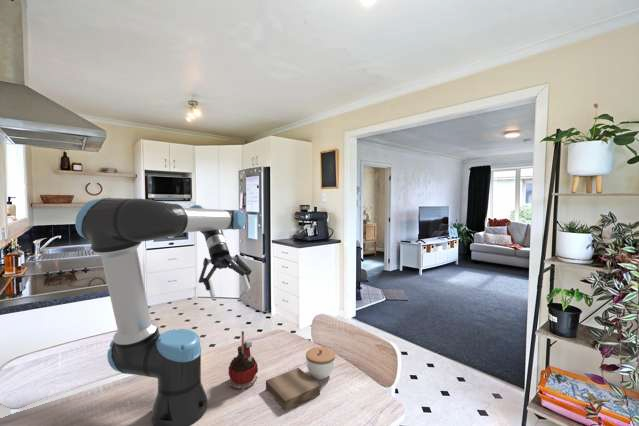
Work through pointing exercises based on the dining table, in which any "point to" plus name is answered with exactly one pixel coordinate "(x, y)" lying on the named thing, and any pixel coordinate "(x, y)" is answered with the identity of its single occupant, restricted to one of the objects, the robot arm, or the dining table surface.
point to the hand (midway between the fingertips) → (231, 293)
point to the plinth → (292, 388)
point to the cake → (243, 367)
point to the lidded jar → (320, 362)
